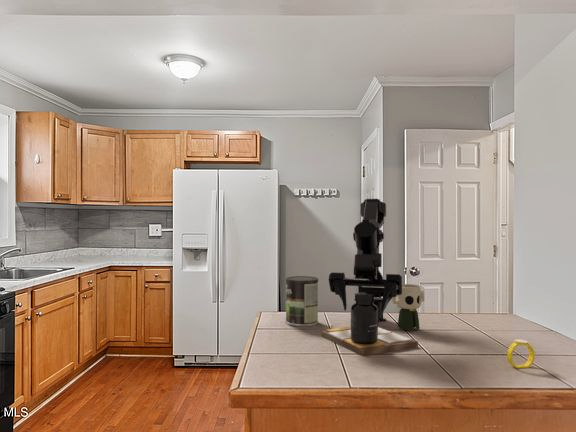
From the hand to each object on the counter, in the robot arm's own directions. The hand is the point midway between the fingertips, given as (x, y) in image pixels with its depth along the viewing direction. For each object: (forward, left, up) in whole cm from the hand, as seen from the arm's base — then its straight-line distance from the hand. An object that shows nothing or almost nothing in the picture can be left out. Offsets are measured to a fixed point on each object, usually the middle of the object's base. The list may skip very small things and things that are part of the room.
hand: (363, 310), depth 113 cm
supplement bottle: (-1, -1, -8) cm, 8 cm away
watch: (-24, +26, -10) cm, 37 cm away
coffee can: (0, -33, -10) cm, 35 cm away
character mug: (-24, -11, -10) cm, 29 cm away
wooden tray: (-6, -6, -10) cm, 13 cm away
